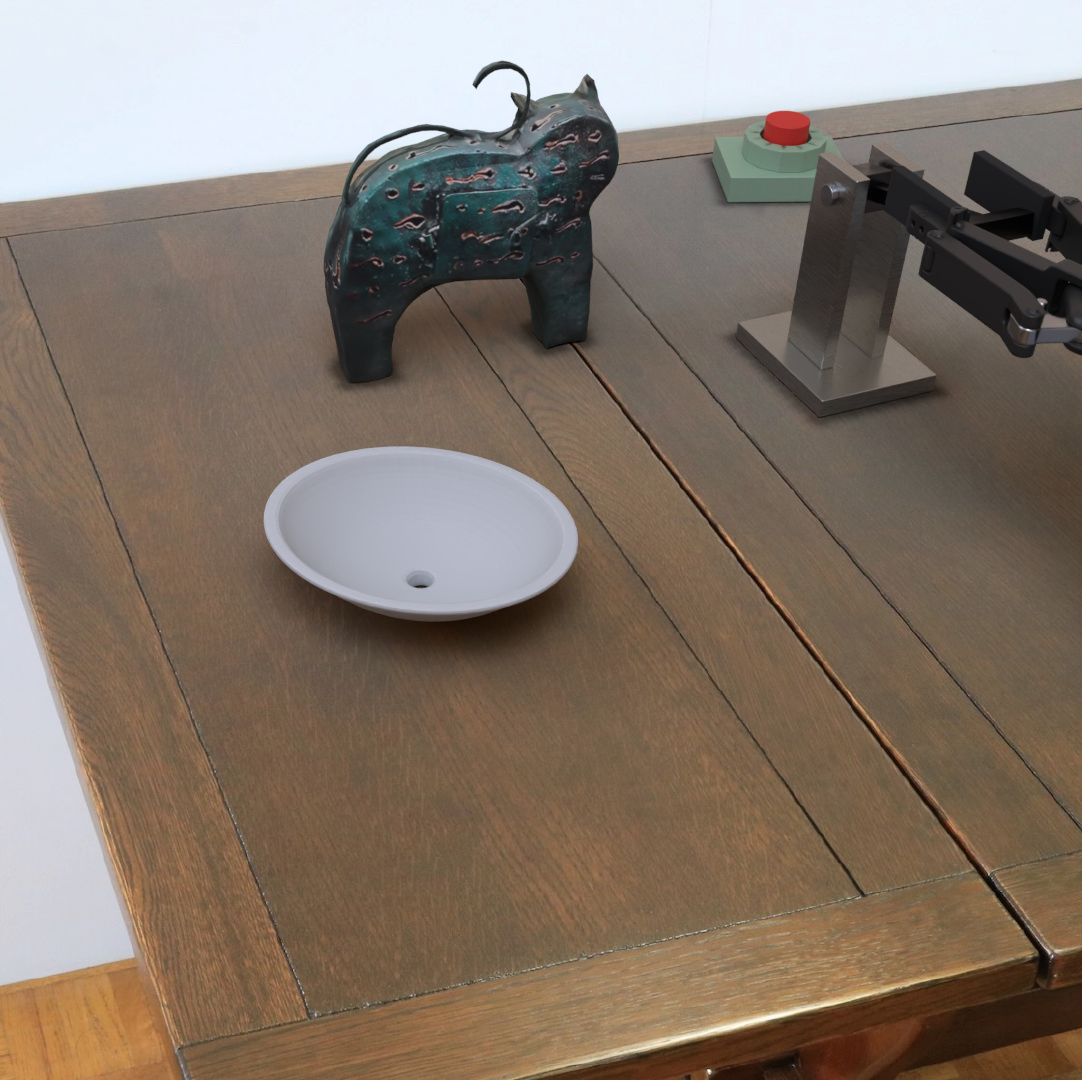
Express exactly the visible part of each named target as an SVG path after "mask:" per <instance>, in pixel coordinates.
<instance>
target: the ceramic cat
mask: <svg viewBox="0 0 1082 1080" xmlns="http://www.w3.org/2000/svg"><path fill="white" fill-rule="evenodd" d="M501 70H512V71H514V72H517V73H518V74H519V75H521V77H522V78H523V79H524V81H525V86H526V95H525V94H521V93H517V92H513V91H510V98H511V100H512V103H513V104H514V105H515V107H516V109H517V110H516V112H515V115H514V119H513V121H512V123H511V125H510V126H508V127H507V128H505V129H503V130H499V131H485V130H479V129H467V128H465V129H458V128H455V127H450V126H446V125H441V124H429V123H424V124H423V123H422V124H418V125H417V124H416V125H414V126H410V127H406V128H401V129H398V130H395V131H393V132H391V133H388V134H385V135H383V136H381V137H379V138H377V139H376V140H373V141H372V142H370V143H369V144H366V146H365V147H364V148H363V149H362V150H361V151H360V152H359V154H358V155H357V156H356V158H355V159H354V161H353V163H352V164H351V166H350V168H349V171H348V173H347V176H346V179H345V182H344V186H343V189H342V192H341V199H340V200H341V202H340V203H339V206H338V208H337V211H336V214H335V216H334V218H333V222H332V223H331V226H330V228H329V230H328V234H327V237H326V238H327V239H326V243H325V249H324V254H323V274H324V289H325V296H326V302H327V306H328V309H329V315H330V321H331V326H332V330H333V335H334V341H335V345H336V351H337V357H338V358H337V359H338V363H339V366H340V367H341V370H342V371H343V372H344V373H345V376H346V378H347V380H348V382H350V383H352V384H353V383H361V382H371V381H375V380H381V379H384V378H387V377H389V376H391V375H392V374H393V369H394V366H393V344H394V338H395V336H394V335H395V331H396V327H397V325H398V322H399V321H400V319H401V318H402V316H403V315H404V313H405V312H406V310H407V309H408V307H410V305H411V304H412V303H413V302H414V301H416V300H417V299H418V298H419V297H421V296H422V295H424V294H425V293H427V292H428V291H430V290H431V289H433V288H436V287H438V286H439V287H440V286H442V285H446V284H451V283H457V282H470V281H494V280H495V281H498V280H501V281H502V280H519V279H521V281H522V282H523V286H524V287H525V292H526V295H527V299H528V300H527V301H528V304H529V309H530V319H531V329H532V331H533V333H534V335H535V336H536V337H537V338H538V339H539V340H540V341H541V343H542V344H543V345H544V347H545V349H548V348H553V347H557V346H559V345H562V344H568V343H573V342H584V341H586V339H587V336H588V329H589V327H588V326H589V319H590V318H589V317H590V308H591V287H592V285H591V284H592V275H593V269H594V252H593V251H594V250H593V233H592V232H593V228H592V219H591V215H590V213H591V212H590V211H591V208H592V206H593V203H594V202H595V201H596V200H597V199H598V198H599V196H600V195H601V193H602V192H603V191H604V190H605V189H606V188H607V187H608V185H610V183H611V182H612V180H613V178H614V177H615V175H616V173H617V169H618V166H619V161H620V151H619V150H620V149H619V137H618V132H617V129H616V128H615V126H614V124H613V122H612V120H611V118H610V117H609V115H608V113H607V112H606V110H605V109H604V107H603V106H602V105H601V101H600V99H599V93H598V89H597V86H596V82H595V79H594V78H592V77H591V75H589V74H588V73H586V74H585V75H584V76H583V77H582V79H581V81H580V83H579V85H578V86H577V87H576V88H575V90H574V91H573V92H561V93H554V94H551V95H547V96H543V97H541V98H540V97H539V98H538V99H537V100H534V99H532V98H531V82H530V79H529V76H528V74H527V73H526V71H525V70H524V69H523V68H522V67H521V66H520V65H518V64H516V63H513V62H511V61H508V60H498V61H494V62H491V63H489V64H487V65H484V66H483V67H482V68H481V69H480V70H479V72H478V73H477V74H476V76H475V77H474V79H473V81H472V86H473V88H474V89H475V90H477V89H478V87H479V85H480V84H481V83H482V82H483V80H485V78H487V77H488V76H489V75H490V74H492V73H494V72H496V71H501ZM420 132H440V133H442V134H439V135H436V136H434V137H431V138H428V139H425V140H423V141H420V142H417V143H413V144H409V145H404V146H401V147H397V148H395V149H393V150H389V151H388V152H386V153H385V154H383V155H382V156H381V157H380V158H379V159H378V160H376V161H375V162H373V163H372V164H371V165H369V166H367V167H366V168H365V169H364V170H362V172H361V173H359V174H358V175H357V176H356V178H355V179H354V180H353V178H354V175H355V174H356V173H357V171H358V169H359V168H360V166H361V165H362V164H363V163H364V162H365V160H366V159H367V158H368V157H369V155H370V154H372V153H373V152H374V151H375V150H376V149H378V148H379V147H381V146H383V145H385V144H387V143H389V142H392V141H395V140H398V139H401V138H403V137H407V136H408V135H411V134H417V133H420ZM352 181H353V182H352Z"/></svg>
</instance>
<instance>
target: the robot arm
mask: <svg viewBox="0 0 1082 1080" xmlns="http://www.w3.org/2000/svg"><path fill="white" fill-rule="evenodd" d="M963 195H964V196H965V197H966V198H968V199H970V200H971V201H972V202H974V203H975V204H977V205H979V206H980V207H981V208H983V209H984V210H986V211H987V212H988V213H991V212H996V211H1001V210H1006V209H1011V208H1016V207H1019V208H1022V209H1026V210H1029V211H1032V212H1034V218H1033V227H1032V235H1031V236H1030V237H1026V238H1027V239H1028V240H1030V241H1032V242H1035V241H1040V240H1044V236H1045V234H1046V230H1047V231H1049V234H1048V238H1047V242H1046V245H1045V248H1044V252H1045V253H1048V252H1049V253H1057V252H1059V253H1060V254H1061V255H1062V257H1063V258H1064V259H1062V260H1060V261H1058V262H1055V261H1053V260H1051V259H1048V258H1047V257H1044V256H1042V255H1040V254H1038V253H1036V252H1034V251H1031V250H1029V249H1027V248H1025V247H1023V246H1021V245H1018V244H1017V243H1014V242H1012V241H1011V240H1010V241H1007V240H1005V239H1003V238H1001V237H999V236H997V235H994V234H992V233H990V232H988V231H986V230H984V229H981V228H979V227H977V226H975V225H973V224H971V223H969V220H970V215H971V212H970V211H969V210H970V209H969V208H968V207H966V206H963V205H961V204H960V203H958V202H957V201H955V200H954V199H952V198H951V197H949V195H947V194H946V193H944V192H943V191H942V190H940V189H938V188H936V187H935V186H934V185H932V184H931V183H929V182H928V181H927V180H925V179H924V178H923V179H922V178H921V177H919V176H918V175H916V174H915V173H913V172H912V171H911V170H909V169H908V168H906V167H905V166H898V167H893V168H892V172H891V177H890V182H889V187H888V192H887V197H886V202H885V207H884V211H885V212H887V213H888V214H889V215H891V216H892V217H893V218H895V219H896V220H897V221H899V222H900V223H902V224H903V225H904V226H906V227H905V228H906V230H907V232H908V233H909V234H910V236H912V237H913V238H915V239H916V240H918V241H919V242H920V243H921V244H922V245H924V246H923V251H922V255H921V259H920V264H919V269H918V272H917V273H918V276H919V277H920V278H921V279H922V280H924V281H925V282H927V283H928V284H929V285H931V286H932V287H933V288H935V289H936V290H937V291H939V292H940V293H941V294H942V295H943V296H945V297H947V298H948V299H950V300H951V301H952V302H953V303H954V304H956V305H957V306H958V307H960V308H962V309H963V310H964V311H965V312H966V313H968V314H969V315H971V316H972V317H974V318H975V319H976V320H977V321H979V322H981V324H983V325H984V326H986V328H988V329H989V330H991V331H992V332H994V333H995V334H996V335H998V336H999V338H1000V339H1001V340H1002V342H1003V344H1004V346H1005V347H1006V348H1007V350H1008V352H1009V353H1010V354H1011V355H1012V356H1014V357H1015V358H1019V359H1030V358H1032V357H1033V356H1034V354H1035V350H1036V347H1037V345H1042V344H1044V345H1045V344H1062V346H1063V347H1065V349H1066V350H1068V351H1069V352H1071V353H1073V354H1076V355H1079V356H1081V357H1082V200H1080V198H1078V197H1074V196H1070V195H1069V196H1068V195H1064V196H1060V195H1059V194H1057V193H1055V192H1054V191H1052V190H1050V189H1049V188H1047V187H1046V186H1045V185H1042V184H1041V183H1039V182H1036V181H1034V180H1032V179H1031V178H1029V177H1028V176H1026V175H1024V174H1023V173H1021V172H1019V171H1018V170H1016V169H1015V168H1013V167H1012V166H1010V165H1009V164H1007V163H1005V162H1004V161H1003V160H1001V159H1000V158H998V157H996V156H994V155H993V154H991V153H990V152H989V151H987V150H985V149H982V150H978V151H974V152H973V154H972V158H971V162H970V166H969V171H968V176H967V180H966V184H965V188H964V192H963ZM968 209H969V210H968Z"/></svg>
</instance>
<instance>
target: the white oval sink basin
mask: <svg viewBox="0 0 1082 1080" xmlns="http://www.w3.org/2000/svg"><path fill="white" fill-rule="evenodd" d="M263 530H264V533H265V535H266V538H267V541H268V543H269V545H270V547H271V549H272V550H273V551H274V553H275V555H276V556H277V557H278V558H279V559H280V560H281V561H282V562H283V564H284V565H285V566H287V567H288V568H289V569H290V570H291V571H292V572H294V573H295V574H296V575H298V576H299V577H300V578H301V579H302V580H305V581H307V582H308V583H310V584H311V585H312V586H315V587H316V588H319V589H321V590H322V591H324V592H327V593H329V594H331V595H334V596H336V597H338V598H339V599H342V600H344V601H346V602H347V603H350V604H351V605H354V606H356V607H359V608H361V609H364V610H366V611H369V612H372V613H376V614H378V615H379V614H380V615H382V616H385V617H391V618H395V619H401V620H407V621H415V622H452V621H461V620H466V619H471V618H476V617H480V616H485V615H487V614H490V613H494V612H496V611H499V610H501V609H504V608H508V607H512V606H515V605H518V604H521V603H524V602H525V601H528V600H530V599H531V600H532V599H533V598H535V597H537V596H539V595H540V594H542V593H544V592H547V590H549V589H550V588H552V587H554V586H555V585H556V584H558V582H559V581H561V580H562V579H563V577H564V576H565V575H566V574H567V573H568V572H569V570H570V569H571V567H572V565H573V563H574V562H575V559H576V557H577V554H578V549H579V533H578V528H577V525H576V523H575V521H574V518H573V516H572V514H571V512H570V511H569V510H568V508H567V507H566V505H565V503H563V502H562V501H561V500H560V499H559V498H558V496H556V495H555V494H554V493H553V492H552V491H551V490H549V489H548V488H547V487H545V486H544V485H542V484H541V483H540V482H538V481H537V480H535V479H533V478H532V477H530V476H528V475H526V474H525V473H522V472H521V471H519V470H516V469H514V468H512V467H510V466H507V465H505V464H502V463H500V462H497V461H494V460H492V459H491V460H490V459H487V458H485V457H481V456H477V455H474V454H470V453H466V452H460V451H455V450H449V449H444V448H443V449H442V448H436V447H427V446H426V447H424V446H409V445H406V446H405V445H404V446H403V445H401V446H397V445H394V446H393V445H392V446H377V447H368V448H366V447H365V448H359V449H353V450H347V451H343V452H340V453H336V454H332V455H328V456H325V457H323V458H320V459H316V460H315V461H313V462H310V463H308V464H306V465H304V466H302V467H300V468H298V469H296V470H295V471H293V472H292V473H290V474H289V475H287V476H286V477H285V478H284V479H283V480H281V481H280V483H279V484H277V486H276V487H275V488H274V489H273V490H272V492H271V494H270V496H269V497H268V500H267V502H266V504H265V507H264V511H263ZM416 586H417V587H416ZM418 586H425V587H418Z"/></svg>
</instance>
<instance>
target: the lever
mask: <svg viewBox="0 0 1082 1080" xmlns="http://www.w3.org/2000/svg"><path fill="white" fill-rule="evenodd" d="M852 166H853V167H854V168H855V169H857V170H858V171H860V172H861V173H862V174H864V175H865V176H866V177H868V178H869V179H870V184H869V189H868V194H867V199H866V204H865V209H864V214H865V213H870V212H875V211H880V210H884V207H885V202H886V197H887V192H888V187H889V182H890V177H891V172H892V170H891V169H888V168H884V167H881V166H878V165H875V164H871V163H869V162H864V163H859V164H853V165H852ZM968 210H969V211H970V212H971V215H970V220H969V223H971V224H973V225H975V226H977V227H979V228H981V229H984V230H986V231H988V232H990V233H992V234H994V235H997V236H999V237H1001V238H1003V239H1005V240H1007V241H1010V242H1011V241H1015V240H1019V239H1025V238H1027V237H1030V236H1031V235H1032V227H1033V218H1034V212H1032V211H1029V210H1026V209H1022V208H1019V207H1016V208H1011V209H1006V210H1001V211H996V212H991V213H990V212H985V213H982V212H978V211H975V210H972V209H969V208H968Z"/></svg>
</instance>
